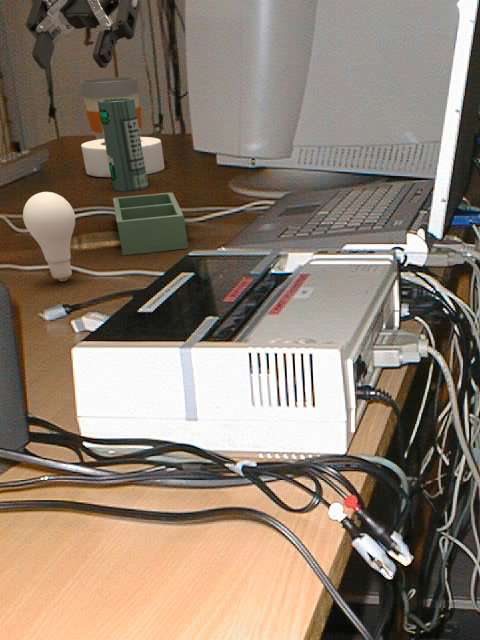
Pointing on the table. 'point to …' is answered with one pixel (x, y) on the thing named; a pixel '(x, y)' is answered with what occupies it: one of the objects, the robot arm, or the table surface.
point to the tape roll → (98, 157)
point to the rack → (150, 223)
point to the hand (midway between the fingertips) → (69, 63)
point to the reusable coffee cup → (108, 97)
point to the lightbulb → (51, 230)
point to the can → (123, 143)
